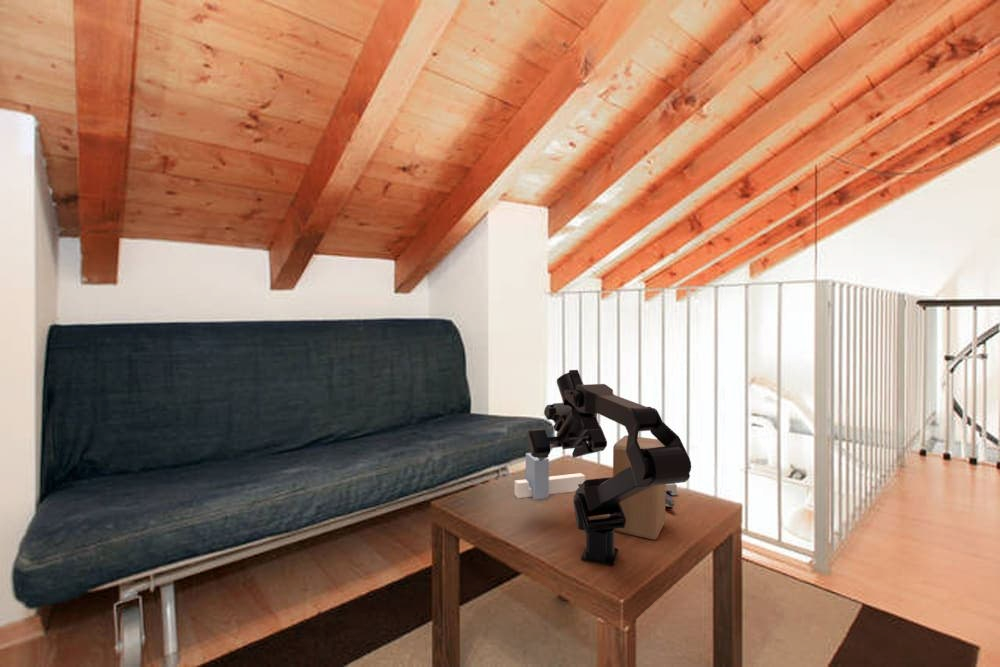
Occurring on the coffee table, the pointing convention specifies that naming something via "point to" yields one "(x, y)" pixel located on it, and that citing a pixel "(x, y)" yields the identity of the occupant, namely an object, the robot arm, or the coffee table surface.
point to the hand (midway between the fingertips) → (556, 457)
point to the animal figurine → (669, 501)
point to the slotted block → (538, 476)
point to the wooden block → (640, 496)
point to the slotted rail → (551, 485)
